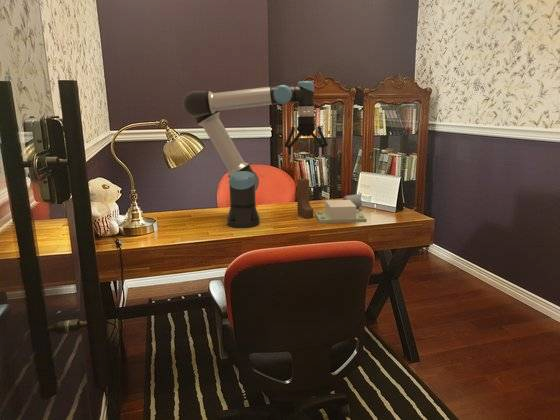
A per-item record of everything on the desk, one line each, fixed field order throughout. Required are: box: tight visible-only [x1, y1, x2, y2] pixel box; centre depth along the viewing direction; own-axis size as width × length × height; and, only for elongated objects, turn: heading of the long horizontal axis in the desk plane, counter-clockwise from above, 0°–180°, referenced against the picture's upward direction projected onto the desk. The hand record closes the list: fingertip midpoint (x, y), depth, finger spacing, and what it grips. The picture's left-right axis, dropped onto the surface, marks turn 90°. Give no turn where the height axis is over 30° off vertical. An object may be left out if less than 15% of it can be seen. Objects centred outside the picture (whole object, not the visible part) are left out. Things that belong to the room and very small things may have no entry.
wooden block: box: [296, 177, 314, 220], centre depth 215 cm, size 9×4×18 cm, turn 23°
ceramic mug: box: [342, 193, 363, 212], centre depth 228 cm, size 11×8×8 cm
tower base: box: [314, 199, 368, 224], centre depth 212 cm, size 22×14×8 cm, turn 94°
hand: (306, 161), depth 211 cm, fingers open, 13 cm apart
